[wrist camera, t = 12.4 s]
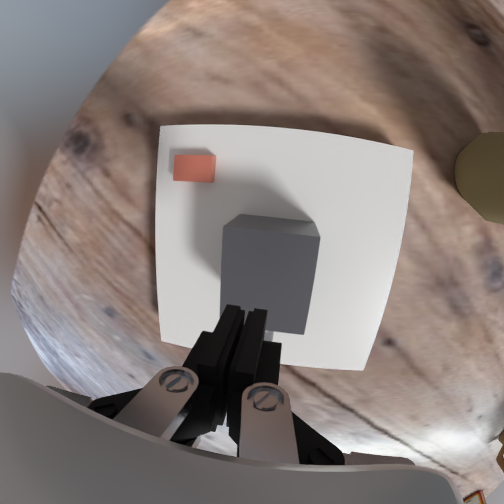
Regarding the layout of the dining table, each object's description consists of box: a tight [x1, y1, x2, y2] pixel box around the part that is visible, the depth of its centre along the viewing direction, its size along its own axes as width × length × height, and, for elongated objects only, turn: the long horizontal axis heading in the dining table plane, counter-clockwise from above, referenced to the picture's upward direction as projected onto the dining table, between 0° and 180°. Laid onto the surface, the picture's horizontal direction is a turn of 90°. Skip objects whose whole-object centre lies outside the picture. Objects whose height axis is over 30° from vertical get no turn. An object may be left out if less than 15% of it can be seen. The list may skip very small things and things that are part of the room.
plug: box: [220, 214, 321, 342], centre depth 20 cm, size 9×6×8 cm, turn 176°
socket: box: [155, 124, 413, 370], centre depth 22 cm, size 20×20×4 cm
